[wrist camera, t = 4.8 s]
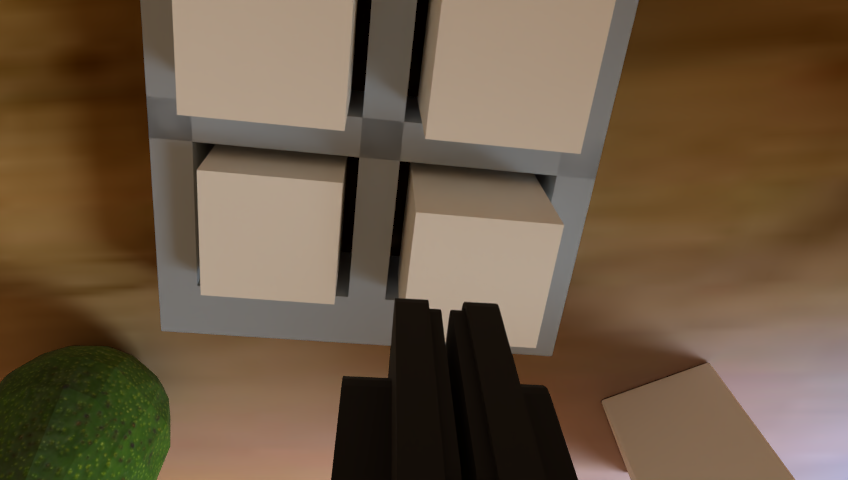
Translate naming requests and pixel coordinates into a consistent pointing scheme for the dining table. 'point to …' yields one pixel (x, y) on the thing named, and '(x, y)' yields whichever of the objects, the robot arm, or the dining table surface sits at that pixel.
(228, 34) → the button
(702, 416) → the milk
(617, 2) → the board
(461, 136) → the button
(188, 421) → the dining table surface
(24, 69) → the dining table surface
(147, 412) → the avocado
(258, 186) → the button
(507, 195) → the button
